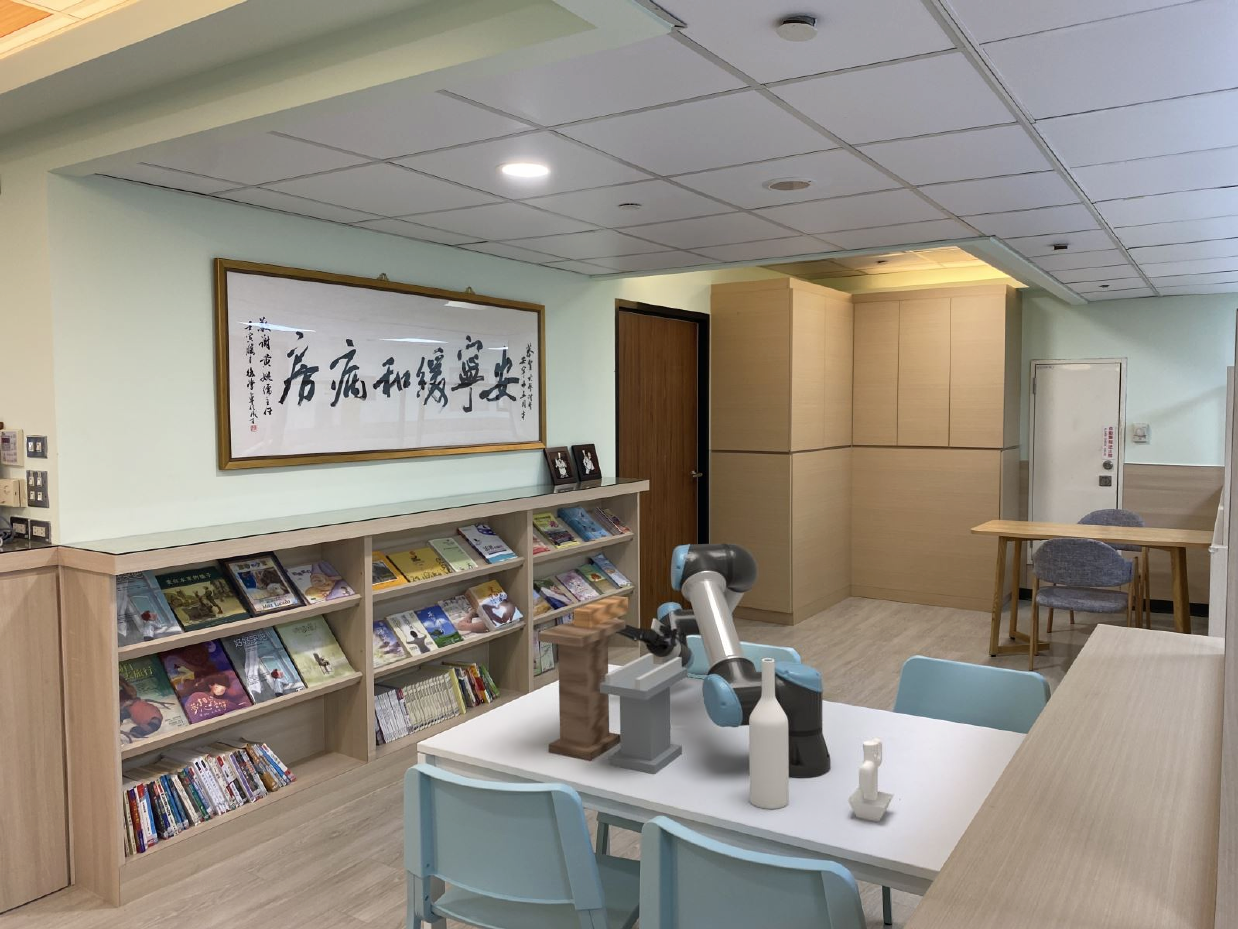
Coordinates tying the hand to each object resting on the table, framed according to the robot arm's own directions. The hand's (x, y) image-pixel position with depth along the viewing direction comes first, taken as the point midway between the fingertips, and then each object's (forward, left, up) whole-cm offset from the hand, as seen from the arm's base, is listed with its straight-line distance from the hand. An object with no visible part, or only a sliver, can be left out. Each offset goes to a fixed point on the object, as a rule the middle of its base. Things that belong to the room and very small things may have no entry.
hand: (630, 620), depth 242 cm
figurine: (-76, -10, -27) cm, 81 cm away
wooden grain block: (-7, +13, +3) cm, 15 cm away
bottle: (-60, +3, -27) cm, 66 cm away
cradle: (-27, +12, -27) cm, 39 cm away
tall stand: (-12, +21, -27) cm, 36 cm away
